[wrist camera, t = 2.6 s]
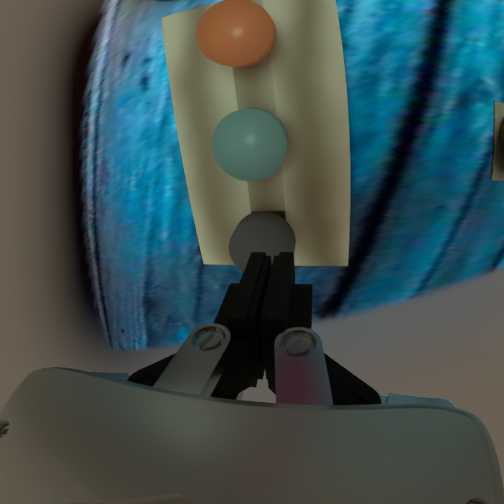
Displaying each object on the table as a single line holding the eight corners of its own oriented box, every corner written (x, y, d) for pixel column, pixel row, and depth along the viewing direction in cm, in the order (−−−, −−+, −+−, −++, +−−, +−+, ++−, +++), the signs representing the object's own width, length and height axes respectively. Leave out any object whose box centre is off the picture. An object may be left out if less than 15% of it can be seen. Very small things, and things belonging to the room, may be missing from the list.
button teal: (289, 102, 21) (282, 105, 17) (294, 162, 24) (289, 180, 20) (228, 108, 23) (206, 114, 18) (236, 165, 25) (217, 183, 21)
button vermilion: (278, 11, 17) (267, -7, 13) (285, 67, 20) (277, 61, 16) (216, 21, 19) (192, 7, 14) (223, 74, 21) (200, 72, 17)
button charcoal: (296, 196, 25) (292, 220, 21) (299, 247, 28) (295, 279, 23) (240, 197, 26) (224, 222, 22) (247, 247, 29) (233, 277, 25)
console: (331, 5, 19) (333, -10, 15) (344, 242, 31) (347, 266, 27) (183, 25, 22) (161, 17, 18) (217, 242, 34) (203, 264, 30)
